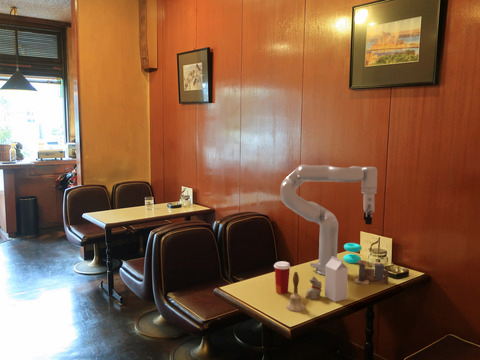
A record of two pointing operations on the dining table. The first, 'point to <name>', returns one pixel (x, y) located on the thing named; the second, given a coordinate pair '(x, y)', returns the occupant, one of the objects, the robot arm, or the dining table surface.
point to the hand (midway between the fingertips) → (367, 222)
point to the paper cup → (282, 277)
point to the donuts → (352, 248)
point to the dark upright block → (379, 270)
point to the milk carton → (336, 280)
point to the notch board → (370, 276)
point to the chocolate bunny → (314, 289)
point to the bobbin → (361, 274)
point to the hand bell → (295, 297)
